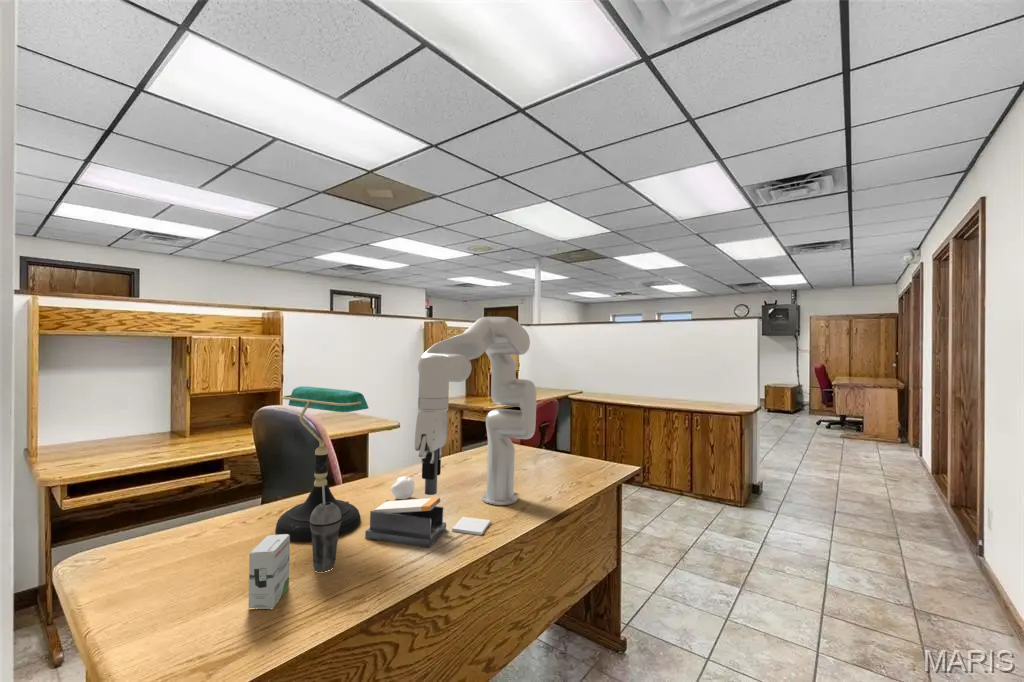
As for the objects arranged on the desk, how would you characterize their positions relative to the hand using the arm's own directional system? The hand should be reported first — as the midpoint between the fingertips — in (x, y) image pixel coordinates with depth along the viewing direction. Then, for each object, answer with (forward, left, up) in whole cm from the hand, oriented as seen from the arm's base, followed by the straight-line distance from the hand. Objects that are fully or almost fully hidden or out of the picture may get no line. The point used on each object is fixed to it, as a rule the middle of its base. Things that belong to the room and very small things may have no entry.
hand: (431, 476), depth 113 cm
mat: (-22, +4, -21) cm, 31 cm away
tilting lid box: (-12, -12, -21) cm, 27 cm away
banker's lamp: (-10, -39, -21) cm, 46 cm away
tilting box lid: (-12, -12, -13) cm, 21 cm away
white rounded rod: (0, 0, -4) cm, 4 cm away
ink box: (+25, -25, -21) cm, 41 cm away
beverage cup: (+11, -22, -21) cm, 33 cm away
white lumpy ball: (-37, -26, -21) cm, 50 cm away
